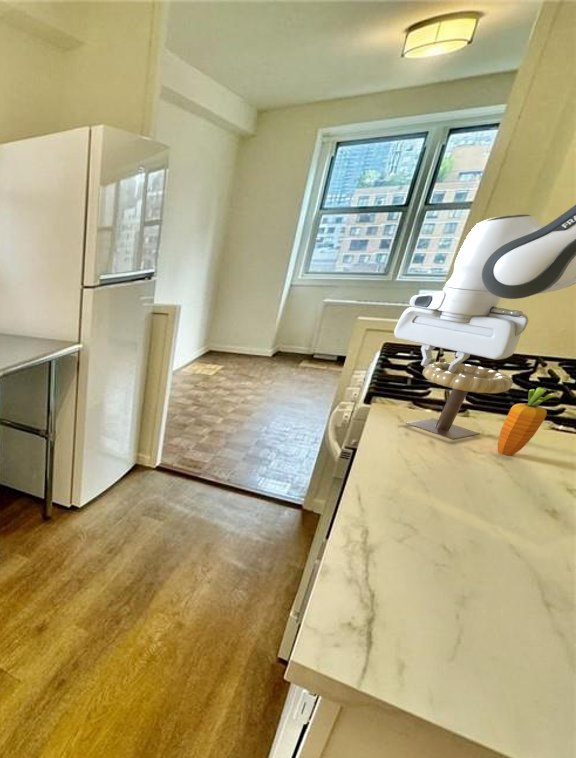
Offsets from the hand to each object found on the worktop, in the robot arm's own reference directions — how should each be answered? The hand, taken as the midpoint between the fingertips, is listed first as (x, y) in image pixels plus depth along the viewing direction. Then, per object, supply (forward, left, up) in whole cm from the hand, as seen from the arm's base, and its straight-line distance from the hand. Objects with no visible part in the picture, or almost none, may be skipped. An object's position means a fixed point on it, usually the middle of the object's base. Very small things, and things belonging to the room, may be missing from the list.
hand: (436, 368), depth 105 cm
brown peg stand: (-6, 0, -13) cm, 14 cm away
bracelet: (-5, 0, 0) cm, 5 cm away
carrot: (-18, +2, -14) cm, 22 cm away
